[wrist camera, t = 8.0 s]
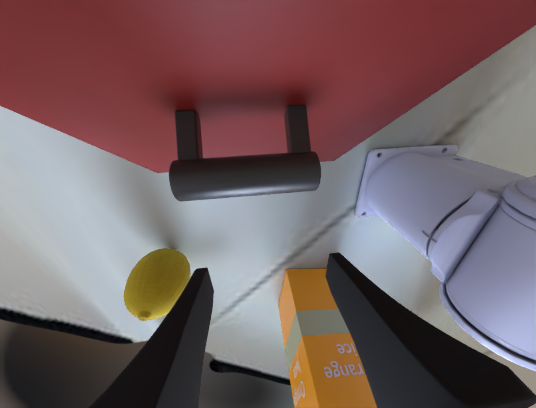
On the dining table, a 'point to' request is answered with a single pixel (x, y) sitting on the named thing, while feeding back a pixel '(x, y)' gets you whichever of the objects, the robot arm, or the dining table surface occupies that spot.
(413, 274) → the dining table surface
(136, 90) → the lid
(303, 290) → the orange juice
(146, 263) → the lemon
